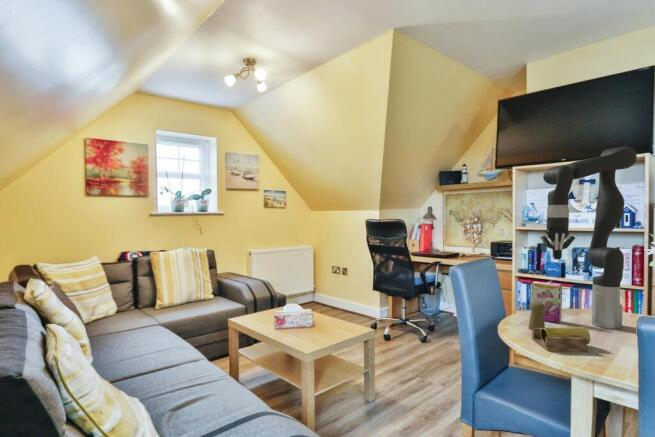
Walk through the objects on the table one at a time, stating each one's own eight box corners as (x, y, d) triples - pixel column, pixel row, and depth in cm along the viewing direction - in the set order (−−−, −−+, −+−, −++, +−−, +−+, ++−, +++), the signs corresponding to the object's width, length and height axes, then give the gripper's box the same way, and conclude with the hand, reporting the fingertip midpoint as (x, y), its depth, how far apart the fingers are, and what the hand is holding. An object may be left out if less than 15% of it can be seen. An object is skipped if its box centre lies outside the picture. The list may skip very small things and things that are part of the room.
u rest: (568, 340, 136) (568, 328, 136) (586, 352, 125) (587, 339, 125) (532, 339, 137) (532, 327, 137) (547, 350, 126) (547, 338, 126)
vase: (591, 331, 126) (549, 331, 127) (590, 347, 127) (547, 347, 128) (580, 323, 132) (540, 323, 133) (579, 339, 133) (539, 339, 134)
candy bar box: (530, 319, 162) (531, 282, 162) (533, 316, 166) (533, 281, 166) (559, 324, 155) (560, 286, 155) (561, 321, 159) (562, 284, 159)
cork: (544, 328, 150) (544, 301, 150) (546, 332, 145) (546, 305, 144) (527, 326, 153) (528, 300, 152) (529, 330, 147) (529, 303, 147)
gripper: (569, 216, 149) (568, 258, 149) (535, 216, 150) (535, 257, 151) (580, 216, 142) (580, 260, 142) (545, 216, 143) (544, 260, 143)
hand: (557, 259), depth 146 cm, fingers closed
